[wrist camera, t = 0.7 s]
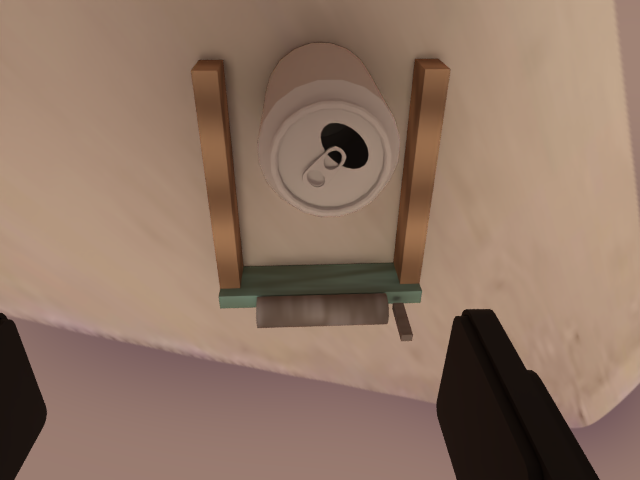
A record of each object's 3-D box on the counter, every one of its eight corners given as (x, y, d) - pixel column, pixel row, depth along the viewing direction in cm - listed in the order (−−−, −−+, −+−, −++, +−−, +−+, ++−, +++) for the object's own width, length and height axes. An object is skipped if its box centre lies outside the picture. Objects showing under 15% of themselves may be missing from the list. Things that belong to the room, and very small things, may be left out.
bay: (198, 60, 32) (171, 96, 25) (438, 58, 33) (479, 94, 26) (226, 283, 42) (213, 356, 35) (409, 278, 43) (433, 348, 36)
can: (394, 95, 34) (437, 163, 24) (319, 166, 37) (329, 254, 27) (319, 13, 31) (333, 52, 21) (244, 97, 34) (223, 167, 24)
